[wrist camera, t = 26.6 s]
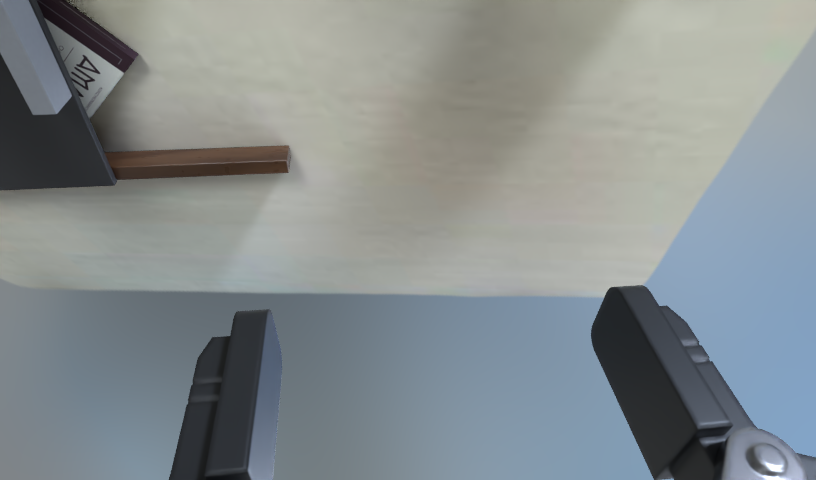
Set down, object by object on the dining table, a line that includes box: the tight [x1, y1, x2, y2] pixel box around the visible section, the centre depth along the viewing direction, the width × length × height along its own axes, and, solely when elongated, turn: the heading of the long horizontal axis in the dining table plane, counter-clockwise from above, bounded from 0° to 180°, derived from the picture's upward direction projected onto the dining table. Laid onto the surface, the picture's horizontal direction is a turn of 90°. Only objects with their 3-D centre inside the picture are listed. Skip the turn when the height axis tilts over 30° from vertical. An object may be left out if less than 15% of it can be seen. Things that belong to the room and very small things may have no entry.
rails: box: [104, 146, 291, 180], centre depth 31 cm, size 24×25×2 cm
